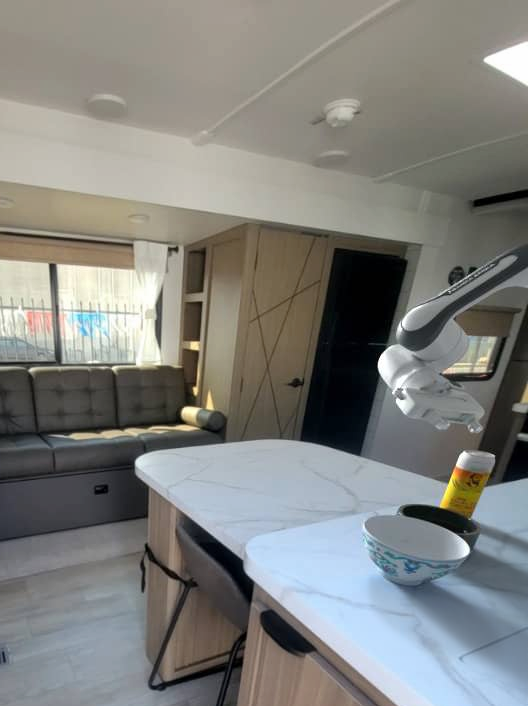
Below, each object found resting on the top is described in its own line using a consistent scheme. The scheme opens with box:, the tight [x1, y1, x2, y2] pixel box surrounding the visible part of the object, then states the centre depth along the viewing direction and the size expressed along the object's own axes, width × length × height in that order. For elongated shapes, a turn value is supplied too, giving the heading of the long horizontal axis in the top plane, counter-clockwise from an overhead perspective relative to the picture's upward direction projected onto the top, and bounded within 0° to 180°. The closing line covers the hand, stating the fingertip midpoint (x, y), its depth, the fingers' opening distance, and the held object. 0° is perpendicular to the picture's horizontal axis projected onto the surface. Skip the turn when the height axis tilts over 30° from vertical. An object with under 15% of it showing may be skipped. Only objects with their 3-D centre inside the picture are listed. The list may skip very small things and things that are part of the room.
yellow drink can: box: [439, 449, 496, 519], centre depth 88 cm, size 6×6×15 cm
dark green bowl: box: [395, 503, 483, 560], centre depth 79 cm, size 13×13×6 cm
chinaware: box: [362, 514, 470, 587], centre depth 68 cm, size 15×15×8 cm
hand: (461, 429), depth 88 cm, fingers open, 8 cm apart
